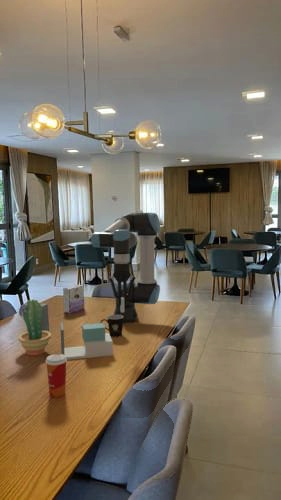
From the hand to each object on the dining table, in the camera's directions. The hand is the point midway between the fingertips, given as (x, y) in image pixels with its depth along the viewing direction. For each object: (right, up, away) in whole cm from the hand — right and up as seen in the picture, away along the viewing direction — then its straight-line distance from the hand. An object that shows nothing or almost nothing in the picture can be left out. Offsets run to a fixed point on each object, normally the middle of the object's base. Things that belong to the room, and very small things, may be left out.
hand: (122, 311), depth 181 cm
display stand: (-17, -19, -2) cm, 26 cm away
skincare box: (-46, -16, +27) cm, 56 cm away
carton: (-13, -12, -2) cm, 18 cm away
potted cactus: (-42, -19, 0) cm, 46 cm away
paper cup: (-22, -24, -41) cm, 52 cm away
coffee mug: (-6, -16, +23) cm, 29 cm away
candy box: (-35, -11, +72) cm, 81 cm away
